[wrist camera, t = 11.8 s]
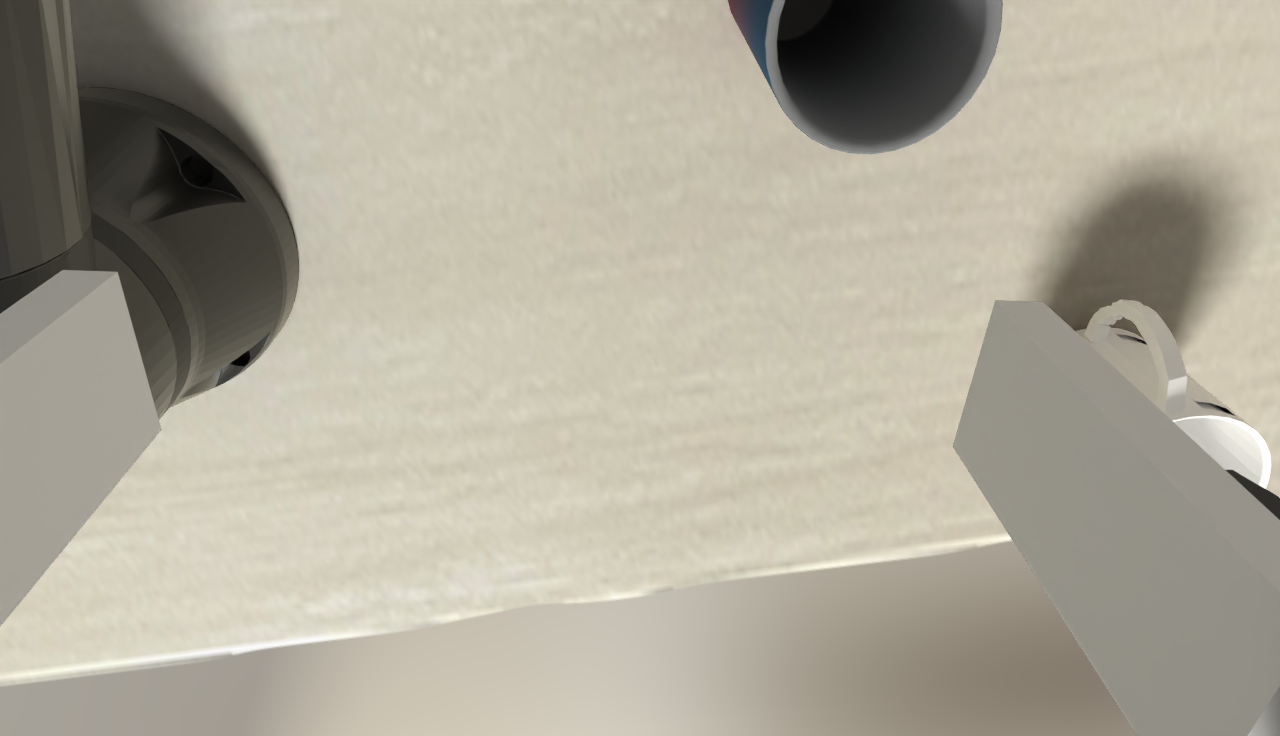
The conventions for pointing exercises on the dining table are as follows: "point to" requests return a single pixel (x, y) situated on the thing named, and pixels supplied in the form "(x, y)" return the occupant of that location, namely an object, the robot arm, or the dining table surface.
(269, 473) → the dining table surface
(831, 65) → the cup
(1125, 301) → the mug
